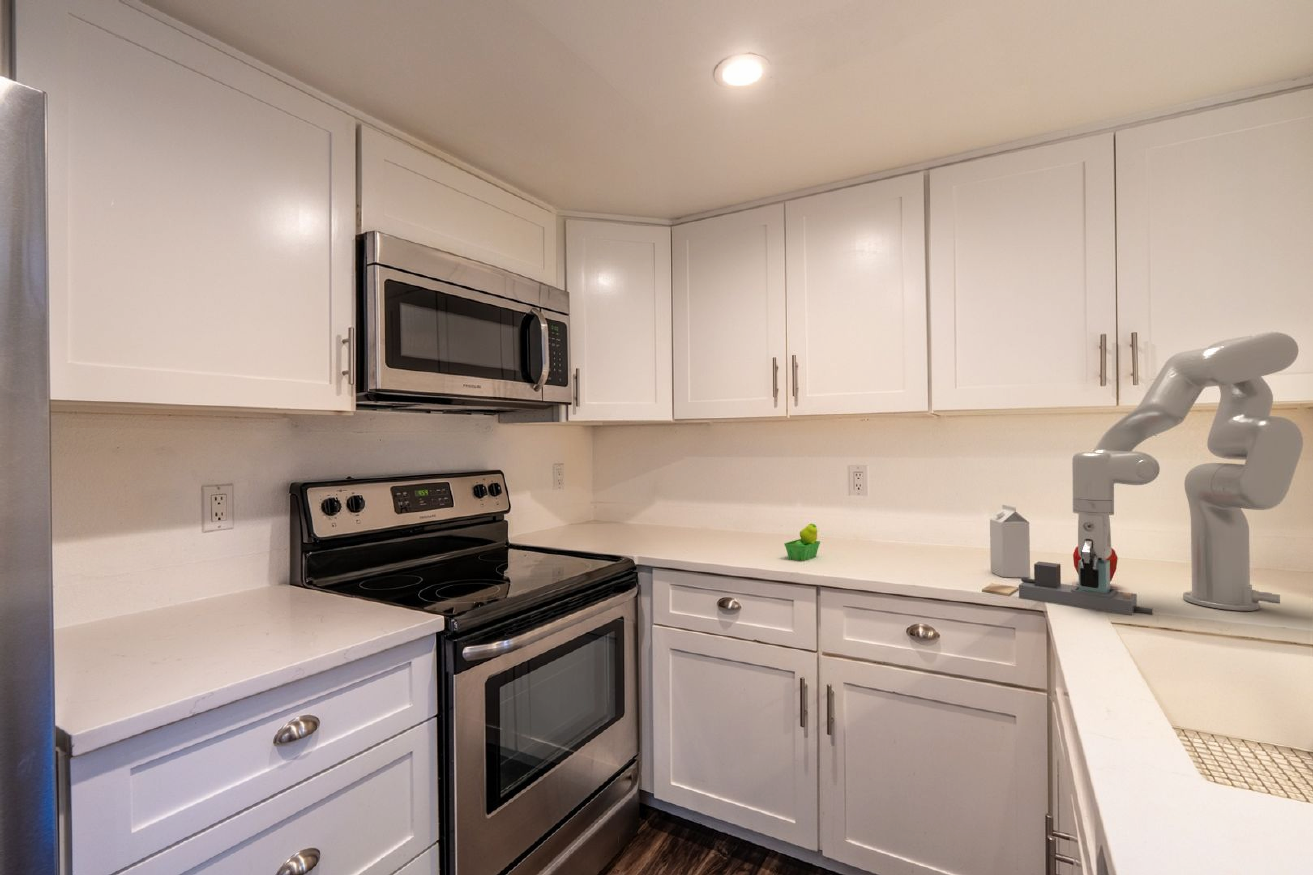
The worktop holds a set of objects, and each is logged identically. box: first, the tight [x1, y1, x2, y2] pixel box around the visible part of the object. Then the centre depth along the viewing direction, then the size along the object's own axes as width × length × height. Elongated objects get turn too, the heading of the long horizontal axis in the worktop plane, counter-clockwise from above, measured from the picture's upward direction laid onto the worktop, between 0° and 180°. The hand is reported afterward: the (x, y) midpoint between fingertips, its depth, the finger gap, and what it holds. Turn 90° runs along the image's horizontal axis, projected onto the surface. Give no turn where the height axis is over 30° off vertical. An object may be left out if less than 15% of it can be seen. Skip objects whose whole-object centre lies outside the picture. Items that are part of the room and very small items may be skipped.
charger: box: [1077, 560, 1111, 594], centre depth 133 cm, size 5×5×7 cm
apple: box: [1072, 545, 1119, 582], centre depth 150 cm, size 9×9×12 cm
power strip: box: [1018, 561, 1154, 616], centre depth 135 cm, size 24×8×8 cm, turn 45°
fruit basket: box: [783, 523, 821, 562], centre depth 189 cm, size 11×9×11 cm
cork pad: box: [981, 583, 1019, 597], centre depth 147 cm, size 6×8×1 cm
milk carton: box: [989, 504, 1031, 578], centre depth 163 cm, size 7×7×19 cm
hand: (1093, 582), depth 133 cm, fingers open, 9 cm apart
